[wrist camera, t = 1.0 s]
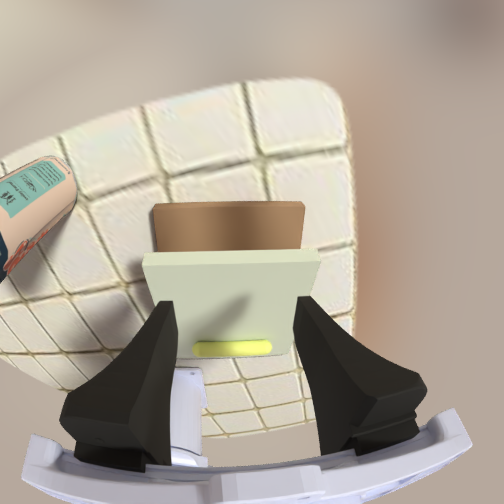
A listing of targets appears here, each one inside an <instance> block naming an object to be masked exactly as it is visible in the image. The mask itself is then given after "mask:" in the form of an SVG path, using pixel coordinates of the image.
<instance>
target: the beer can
mask: <svg viewBox="0 0 504 504" xmlns="http://www.w3.org/2000/svg"><path fill="white" fill-rule="evenodd" d="M76 198H77V183H76V179H75V176H74V173H73V171H72V170H71V168H70V167H69V165H68V164H67V163H66V162H64V161H63V160H62V159H60V158H58V157H55V156H44V157H41V158H39V159H37V160H35V161H33V162H30V163H28V164H26V165H24V166H22V167H20V168H18V169H16V170H14V171H12V172H11V173H9V174H7V175H5V176H3V177H1V178H0V283H1V282H2V281H3V280H4V279H5V277H6V276H7V275H8V274H9V273H10V272H11V270H12V269H13V268H14V267H15V266H16V265H17V264H18V262H19V261H20V260H21V259H22V258H23V257H24V256H25V255H26V254H27V253H28V251H29V250H30V249H31V248H32V247H33V246H34V245H35V244H36V243H37V242H38V241H39V240H40V239H41V238H42V237H43V236H44V235H45V234H46V233H47V232H48V231H49V230H50V229H51V228H52V227H53V226H54V225H55V224H56V223H57V222H58V221H59V220H60V219H61V218H62V217H64V216H65V215H66V214H68V213H69V212H70V211H71V210H72V208H73V206H74V204H75V202H76Z"/></svg>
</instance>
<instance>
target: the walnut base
mask: <svg viewBox="0 0 504 504" xmlns="http://www.w3.org/2000/svg"><path fill="white" fill-rule="evenodd" d="M304 214H305V206H304V204H303V203H302V202H291V201H232V202H188V203H162V204H155V206H154V208H153V216H154V225H155V233H156V241H157V248H158V252H196V251H240V250H285V249H300V247H301V239H302V231H303V223H304Z"/></svg>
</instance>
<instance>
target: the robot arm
mask: <svg viewBox="0 0 504 504" xmlns="http://www.w3.org/2000/svg"><path fill="white" fill-rule="evenodd" d="M292 328H293V333H294V339H295V344H296V348H297V351H298V354H299V357H300V360H301V363H302V366H303V369H304V371H305V374H306V377H307V380H308V383H309V387H310V391H311V395H312V400H313V405H314V411H315V416H316V422H317V428H318V435H319V443H320V451H321V456H318V457H314V458H307V459H302V460H296V461H288V462H281V463H273V464H263V465H252V466H236V467H213V466H208V461H207V457H202V439H201V438H202V433H201V408H207V406H208V404H207V398H206V392H205V387H204V380H203V374H202V370H201V369H200V368H175V364H176V357H177V351H178V327H177V322H176V316H175V310H174V304H173V301H159V302H158V304H157V305H156V307H155V308H154V310H153V312H152V313H151V315H150V316H149V318H148V319H147V321H146V322H145V323H144V325H143V326H142V328H141V329H140V330H139V332H138V333H137V334H136V336H135V337H134V338H133V339H132V341H131V342H130V343H129V344H128V346H127V347H126V348H125V349H124V350H123V351H122V352H121V353H120V354H119V355H118V356H117V357H116V358H115V359H114V360H113V361H112V362H111V363H110V364H109V365H108V366H107V367H106V368H105V369H103V370H102V371H101V372H100V373H98V374H97V375H96V376H95V377H93V378H92V379H90V380H89V381H88V382H86V383H85V384H83V385H81V386H80V387H78V388H76V389H75V390H73V391H71V392H70V393H68V395H67V397H66V399H65V402H64V405H63V408H62V412H61V415H60V419H59V421H60V424H61V425H62V426H63V428H64V429H65V430H66V431H67V432H68V433H69V434H70V435H71V436H72V437H73V438H74V439H75V440H76V446H75V451H72V450H68V449H64V448H63V447H62V446H61V445H60V444H59V443H57V442H56V441H54V440H52V439H49V438H46V437H43V436H39V435H36V434H32V435H31V438H30V442H29V445H28V449H27V453H26V457H25V461H24V466H23V470H22V475H21V478H22V480H24V481H25V482H27V483H29V484H30V485H32V486H34V487H36V488H37V489H39V490H41V491H43V492H45V493H47V494H49V495H51V496H53V497H56V498H58V499H61V500H64V501H67V502H70V503H73V504H362V503H365V502H367V501H370V500H373V499H376V498H378V497H381V496H383V495H386V494H388V493H391V492H393V491H395V490H398V489H400V488H402V487H405V486H407V485H409V484H411V483H413V482H415V481H417V480H420V479H422V478H424V477H426V476H428V475H430V474H431V473H434V472H435V471H437V470H439V469H441V468H443V467H445V466H446V465H448V464H449V463H451V462H452V461H453V460H455V459H456V458H457V457H459V456H460V455H461V454H463V453H464V452H465V451H467V450H468V449H469V448H471V447H472V445H473V444H472V442H471V440H470V438H469V436H468V434H467V432H466V430H465V428H464V426H463V424H462V422H461V420H460V418H459V416H458V414H457V413H456V411H455V409H454V408H453V407H452V408H450V409H448V410H445V411H443V412H441V413H439V414H437V415H435V416H434V417H432V418H431V419H430V420H429V421H428V422H427V424H426V425H423V426H421V427H418V426H417V423H416V421H415V418H416V417H417V415H416V413H415V409H416V407H417V406H418V405H419V404H420V403H421V401H422V400H423V399H424V397H425V396H426V393H427V387H426V386H425V384H424V382H423V380H422V378H421V377H420V375H419V374H418V373H416V372H414V371H411V370H409V369H406V368H403V367H401V366H399V365H397V364H394V363H392V362H390V361H388V360H386V359H385V358H383V357H381V356H379V355H377V354H376V353H374V352H373V351H371V350H369V349H368V348H366V347H365V346H363V345H362V344H361V343H359V342H358V341H357V340H355V339H354V338H353V337H352V336H350V335H349V334H348V333H347V332H346V331H345V330H343V329H342V328H341V327H340V326H339V325H338V324H337V323H336V322H335V321H334V320H333V319H332V318H331V317H330V316H329V315H328V314H327V313H326V312H325V311H324V310H323V309H322V308H321V307H320V306H319V305H318V304H317V303H316V301H315V300H314V299H313V298H312V297H311V296H298V297H297V303H296V310H295V316H294V322H293V327H292Z"/></svg>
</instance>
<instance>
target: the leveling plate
mask: <svg viewBox="0 0 504 504" xmlns="http://www.w3.org/2000/svg"><path fill="white" fill-rule="evenodd" d="M320 263H321V259H320V256H319V253H318V251H317V249H285V250H240V251H196V252H154V253H144V258H143V262H142V268H143V271H144V275H145V278H146V281H147V284H148V287H149V290H150V293H151V296H152V299H153V302H154V305H155V307H156V305H157V304H158V302H159V301H173V304H174V310H175V316H176V322H177V327H178V351H177V357H176V358H179V359H224V358H247V357H264V356H277V355H283V354H288V353H289V351H290V348H291V345H292V343H293V340H294V333H293V328H292V327H293V322H294V316H295V310H296V303H297V297H298V296H310V293H311V290H312V287H313V284H314V281H315V278H316V275H317V272H318V269H319V266H320Z"/></svg>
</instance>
